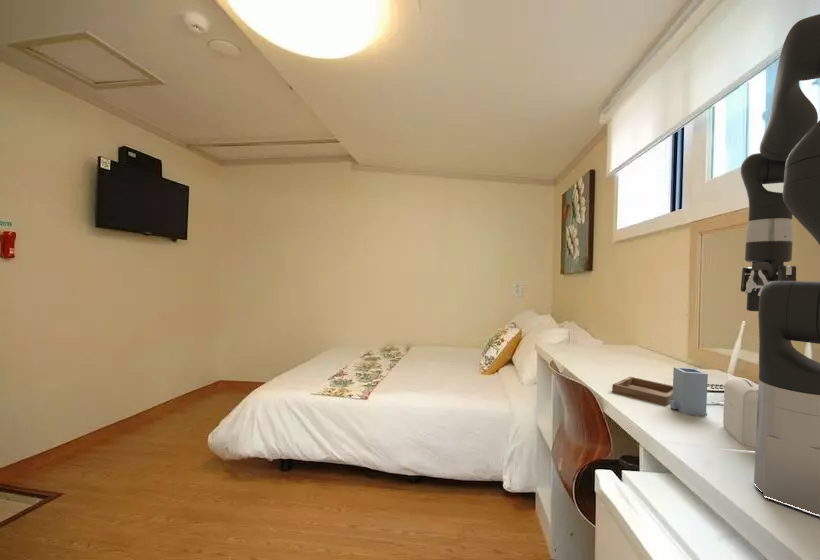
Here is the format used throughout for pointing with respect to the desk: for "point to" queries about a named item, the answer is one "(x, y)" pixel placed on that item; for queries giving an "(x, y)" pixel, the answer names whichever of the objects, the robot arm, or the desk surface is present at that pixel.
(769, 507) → the desk surface
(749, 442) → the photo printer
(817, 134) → the robot arm
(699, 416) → the round base metal stand
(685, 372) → the blue square pencil cup
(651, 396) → the tray
